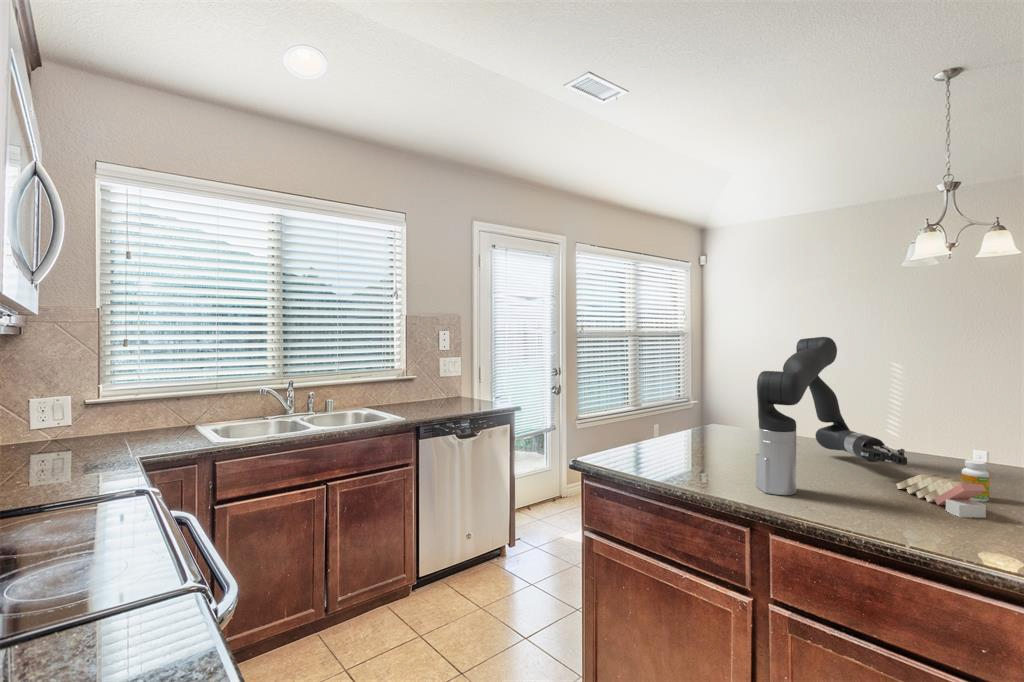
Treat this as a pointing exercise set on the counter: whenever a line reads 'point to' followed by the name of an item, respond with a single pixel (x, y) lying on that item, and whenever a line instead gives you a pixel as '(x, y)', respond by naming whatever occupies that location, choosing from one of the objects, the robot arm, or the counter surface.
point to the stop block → (966, 508)
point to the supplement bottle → (976, 477)
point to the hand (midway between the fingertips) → (904, 461)
